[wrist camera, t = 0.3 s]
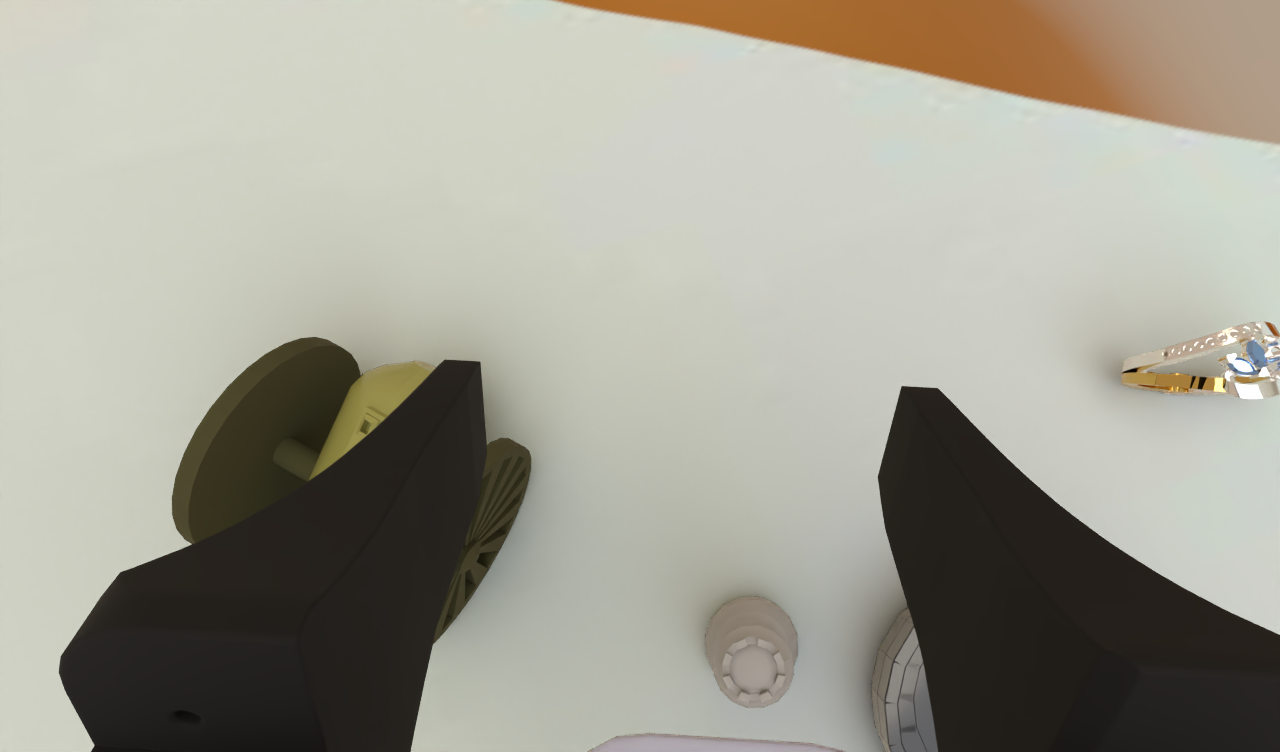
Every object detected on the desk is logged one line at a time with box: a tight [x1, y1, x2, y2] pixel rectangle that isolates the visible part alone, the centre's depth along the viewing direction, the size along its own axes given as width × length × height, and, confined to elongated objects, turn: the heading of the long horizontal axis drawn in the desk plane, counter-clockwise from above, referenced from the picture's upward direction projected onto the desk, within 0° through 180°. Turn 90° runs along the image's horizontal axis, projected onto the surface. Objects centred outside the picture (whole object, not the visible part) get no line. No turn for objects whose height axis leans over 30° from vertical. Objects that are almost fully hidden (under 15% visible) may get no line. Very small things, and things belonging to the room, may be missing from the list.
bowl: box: [871, 608, 938, 752], centre depth 39 cm, size 11×11×4 cm
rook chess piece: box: [705, 597, 798, 708], centre depth 39 cm, size 4×4×8 cm
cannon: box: [172, 337, 531, 644], centre depth 40 cm, size 25×12×11 cm, turn 152°
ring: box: [1121, 322, 1280, 399], centre depth 39 cm, size 7×3×8 cm, turn 83°
